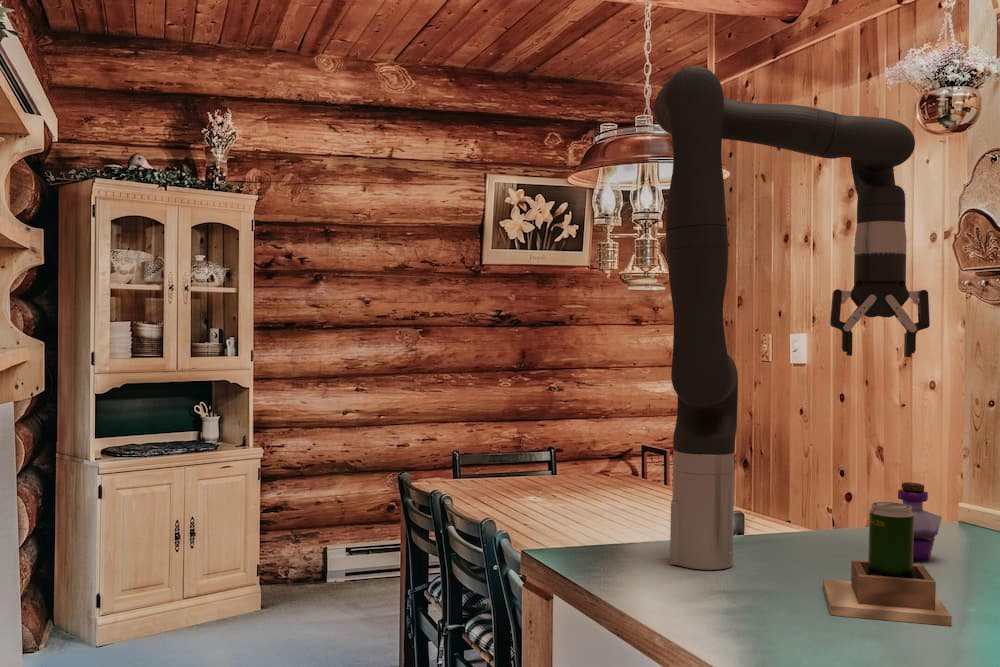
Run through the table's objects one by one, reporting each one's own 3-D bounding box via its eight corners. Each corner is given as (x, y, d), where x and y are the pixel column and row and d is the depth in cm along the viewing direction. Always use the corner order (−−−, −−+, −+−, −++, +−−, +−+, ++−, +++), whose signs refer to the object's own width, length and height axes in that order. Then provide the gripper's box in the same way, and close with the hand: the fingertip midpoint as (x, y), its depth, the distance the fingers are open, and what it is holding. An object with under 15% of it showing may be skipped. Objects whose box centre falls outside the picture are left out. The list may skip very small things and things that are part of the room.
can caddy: (830, 615, 118) (831, 578, 118) (822, 587, 130) (823, 554, 130) (951, 625, 114) (952, 587, 114) (931, 596, 126) (932, 562, 126)
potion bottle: (870, 555, 149) (872, 480, 149) (904, 549, 154) (906, 477, 154) (918, 567, 142) (920, 489, 142) (953, 561, 146) (954, 485, 146)
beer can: (896, 605, 118) (897, 511, 118) (859, 594, 123) (860, 503, 123) (921, 599, 121) (922, 507, 121) (884, 588, 126) (885, 500, 125)
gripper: (834, 250, 143) (832, 356, 144) (934, 250, 140) (932, 358, 140) (829, 254, 151) (828, 354, 151) (925, 254, 147) (923, 356, 147)
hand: (878, 356), depth 145 cm, fingers open, 8 cm apart
